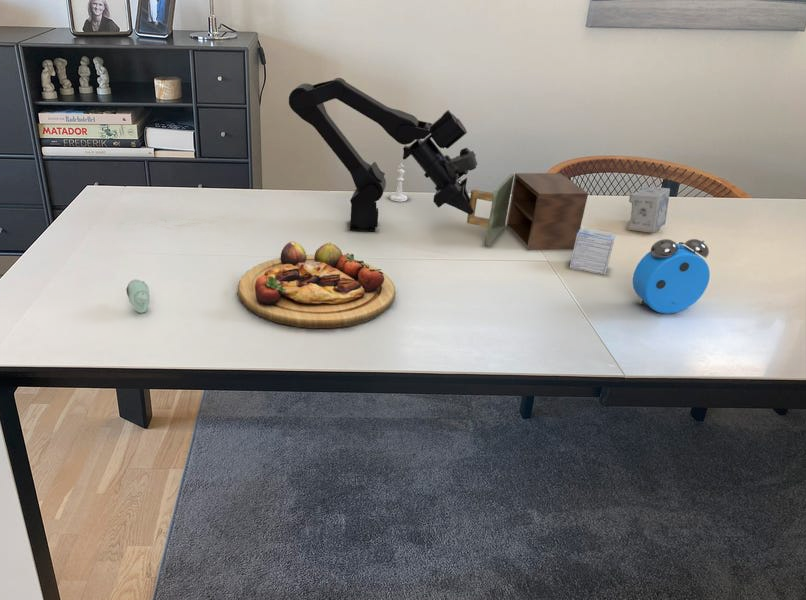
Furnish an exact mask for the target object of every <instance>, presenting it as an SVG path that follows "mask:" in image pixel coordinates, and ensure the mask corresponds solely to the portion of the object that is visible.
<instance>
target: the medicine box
mask: <svg viewBox="0 0 806 600" xmlns="http://www.w3.org/2000/svg"><path fill="white" fill-rule="evenodd" d="M615 238H616V233H615V232H610V231H605V230H600V229H594V228H588V227H583V226H581V227H580V229H579V231H578V233H577V237H576V242H575V246H574V249H572V250H573V251H572V255H571V259H570V263H569V269H574V270H578V271H585V272H590V273H595V274H599V275H606V273H607V269H608V267H609V266H608V265H609V263H610V258H611V254H612V250H613V247H614V243H615Z"/></svg>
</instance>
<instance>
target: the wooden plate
mask: <svg viewBox="0 0 806 600" xmlns="http://www.w3.org/2000/svg"><path fill="white" fill-rule="evenodd" d="M237 294H238V297H239V299H240V302H242V304H243V305H244V306H245V307H246V308H247V309H248V310H249V311H250V312H252V313H254V314H255V315H257V316H259V317H261V318H263V319H266V320H268V321H271V322H274V323H278V324H282V325H285V326H291V327H297V328H309V329H332V328H333V329H334V328H344V327H349V326H353V325H358V324H362V323H365V322H368V321H370V320H372V319H375V318H377V317H379V316H380V315H382V314H383V313H385V312H386V311H387V310H388V309H389V308H390V307H391V306H392V305H393V303H394V302H395V301H394V300H395V298H396V287H395V285H394V282H393V281H392V279H391V277H389V276H388V275H387V274H386V273H385V272H383V270H382V269H381V268H377V267H375V266H373V265H372V264H368V262H367V263H366V262H365V261H364V260H358V259H355V255H354V253H349V252H346V254H345V253H344V254H343V252H342V250H341V249H340V247H338V246H337V245H336V244H334V243H332V242H326V243H324V244H322V245H320V246H319V247H318V248H317V249H316V250H315V252H314V254H307V252H306V250H305V248H304V247H303V246H302V245H301V244H300V243H299V242H296V241H293V240H292V241H289V242H288V243H286V244H285V245H284V247H282V249H281V252H280V257H278V258H274V259H269V260H266V261H264V262H261V263H259V264H256V265H255V266H253V267H252V268H250V269H249V270H247V271H246V272H245V273H244V274H243V275H242V277H240V280H239V282H238V285H237Z"/></svg>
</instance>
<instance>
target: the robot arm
mask: <svg viewBox="0 0 806 600" xmlns="http://www.w3.org/2000/svg"><path fill="white" fill-rule="evenodd" d="M333 100H337V101H340V102H341V103H343V104H345V105H346V106H348V107H350V108H351V109H353V110H355V111H356V112H358V113H359V114H361V115H363V116H364V117H366V118H368V119H370V121H371V120H372V121H373V122H375V123H376V124H378V125H379V126H380V127H381V128H382V129H383V130H384V131H385V132H386V133H387V134H388V136H390V137H391V138H392V139H393V140H395V141H396V142H397V143H398V144H399V145H404V146H403V148H402V150H403V155H402V159H403V160H407V159H408V158H409V157H410V156H412V158H413V159H414V161H416V163H417V164H418V165H419V167H420V168H421V169H422V170H423V172H424V175H423V176H424V177H425V178H426V179H428V178H429V180H431V182H432V183H433V184H434V185H435V187H434V189H435V193H434V195H433V203H434V205H436V207H437V208H440V207H441V206H443V205H445V204H446V205H449V206H451V207H453V208H455V209H457V210H460V211H461V212H463V213H465V214H467V215H468V214H469V215H471V214H472V213H474V211H473V209H472V207H471V205H470V204H469V203H470V195H469V192H468V190H467V183H468V177H465V178H464V179H463V180H462V179H461V178H462V177H463V176H464V175H465V176H466V175H468V173H469V171H473V170H475V169H477V166H478V161H477V158H476V153H475V152H474V150H470V149H469V148H468V147H464V148H461V149H460V151H459V155H456V156H455V157H453V158H451V157H450V156H449V155H448V154H445V155H444V154H443V153H442V151H441V149H447V150H448V149H449V148H451V147H452V146H453V145H455V144H456V143H457V142H458V141H459V140H460V139H461V138H463V137H465V135H467V134H468V131H467V129H466V127H465V126H464V124H463V123H462V121H461V120H460V119H459V118H457V117H456V115H455V114H453V113H452V112H451V111H450V110H449V109H447V110H446V111H445V112H443V113H442V115H441V116H440V117H439V118H437V119H436V120H435V121H434V122H427V121H423V120H418V118H417V117H416V116H415V115H413V114H411V113H408V112H405V111H403V110H400V109H395V108H392V107H389V106H387V105H385V104H384V103H382V102H380V101H378V100H377V99H375V98H373V97H372V96H370V95H369V94H367V93H365V92H364V91H362V90H360V89H359V88H356V87H355V86H353V84H350V83H348V82H347V81H346V80H345V78H342V77H336V78H333V79H332V80H327V81H321V82H318V83H316V84H312V83H305V82H304V83H301V84H299V85H298V86H296V87H295V88H294V89H293V90H292V91H291V92H290V93H289V96H288V105H289V107H290V109H291V110H292V111H293V113H295V114H296V115H297V116H298V117H299V118H300V119H302V120H303V121H305V122H306V123H307V124H309V125H311V126H312V127H313V128H314V129H315V130H316V132H317V133H318V134H319V135H320V137H321V138H322V139H323V141H324V142H325V143H326V144H327V146H328V147H329V148H330V149H331V150H332V152H333V153H334V154H335V155H336V157H337V158H338V160H339V161H340V162H341V163H342V165H343V166H344V167H345V168H346V170H347V171H348V172H349V174H350V175H351V178H352V181H353V184H354V186H355V190H354V191H353V193H352V196H351V198H350V200H349V202H350V219H349V231H353V232H369V233H370V232H372V233H373V232H374V233H375V232H376V228H378V224H379V208H378V207H377V202H378V201H379V200H380V199H381V198H382V197H383V196H384V195H383V194H384V192H385V189H386V185H387V181H386V178H385V175H386V173H385V172H384V171H382V170H381V169H380V167H379V165H378V164H377V162H376V161H373V162H372V164H369V163H368V162H367V161H366V160H364V159H363V158H362V157H361V155H360V154H359V152H358V151H357V150H356V148H355V147H354V146H353V145H352V143H351V142H350V141H349V140H348V138H347V137H346V136H345V134H344V133H343V132H342V131H341V129H340V128H339V127H338V126H337V124H336V123H335V121H334V120H333V119H332V118H331V117H330V115H329V113H328V112H327V110H326V106H325V103H327V102H330V101H333ZM438 147H439V148H440V149H439V148H438Z"/></svg>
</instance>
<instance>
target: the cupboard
mask: <svg viewBox="0 0 806 600" xmlns="http://www.w3.org/2000/svg"><path fill="white" fill-rule="evenodd" d="M588 197H589V193H588V192H587V191H585V190H584V189H583V188H581V187H580V186H579V185H577V184H576V183H575V182H574V181H572V180H571V179H570V178H568V177H567V176H565V175H564V174H562V173H560V172H557V173H556V172H553V173H551V172H546V173H545V172H542V173H541V172H537V173H536V172H532V173H531V172H527V173H526V172H518V173H517V172H515V173H514V178H513V183H512V189H511V195H510V201H509V206H508V212H507V218H506V224H505V228H507V229H508V230H509V231H510V232H511V234H513V235H514V237H515V238H516V239H517V240H518V241H519V242H520V243H521V244H522V245H523V246H524V247H525V248H526V249H527V250H528V251H553V250H554V251H556V250H558V251H559V250H560V251H561V250H563V251H565V250H566V251H567V250H574V246H575V242H576V237H577V233H578V231H579V229H580V228H581V227H582V222H583V218H584V215H585V214H584V213H585V210H586V204H587V201H588Z"/></svg>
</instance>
